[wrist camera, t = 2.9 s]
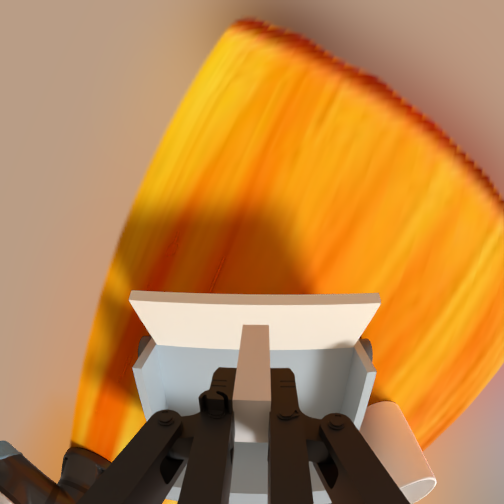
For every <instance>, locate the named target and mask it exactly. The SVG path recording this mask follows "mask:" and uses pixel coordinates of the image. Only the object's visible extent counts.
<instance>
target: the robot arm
mask: <svg viewBox="0 0 504 504" xmlns="http://www.w3.org/2000/svg"><path fill="white" fill-rule="evenodd" d="M198 399H199V406H200V412H199V413H197V414H194V415H190V416H181V415H180V414H179V413H178V412H176V411H174V410H168V409H166V410H160V411H157V412H155V413H154V414H153V415H152V416H151V417H150V418H149V420H148V421H147V422H146V423H145V424H144V426H143V427H142V428H141V429H140V430H139V431H138V433H137V434H136V435H135V436H134V437H133V439H132V440H131V441H130V442H129V443H128V444H127V446H126V447H125V448H124V449H123V450H122V451H121V453H120V454H119V455H118V456H117V457H116V458H115V460H114V461H113V462H112V463H110V462H109V461H107V460H106V459H104V458H102V457H101V456H99V455H97V454H95V453H93V452H90V451H88V450H85V449H81V448H69V449H68V450H67V452H66V454H65V455H64V458H63V464H62V472H61V478H60V480H59V482H58V484H56V483H55V482H54V481H52V480H51V479H50V478H49V477H47V476H46V475H45V474H43V473H42V472H41V471H40V470H39V469H38V468H36V467H35V466H34V465H33V464H32V463H31V462H30V461H28V460H27V459H26V458H25V457H24V456H23V454H22V453H21V452H18V451H17V450H16V449H15V448H14V447H13V446H12V445H11V444H10V443H8V442H6V441H0V504H162V503H163V501H164V500H165V498H166V496H167V495H168V493H169V492H170V490H171V489H172V487H173V485H174V484H175V482H176V481H177V479H178V477H179V476H180V474H181V473H182V471H183V469H184V468H185V466H186V464H187V467H186V471H185V475H184V479H183V483H182V487H181V491H180V495H179V499H178V503H177V504H229V497H230V487H231V478H232V468H233V459H234V439H235V442H259V443H268V456H267V461H268V504H314V502H313V493H312V484H311V476H310V468H309V461H311V462H312V463H313V466H314V468H315V470H316V472H317V474H318V476H319V478H320V480H321V482H322V484H323V486H324V488H325V490H326V492H327V494H328V496H329V498H330V500H331V502H332V504H410V502H409V501H408V500H407V498H406V497H405V496H404V494H403V493H402V491H401V490H400V489H399V487H398V486H397V484H396V483H395V482H394V480H393V479H392V477H391V476H390V474H389V473H388V472H387V470H386V469H385V467H384V466H383V465H382V463H381V462H380V460H379V459H378V457H377V456H376V455H375V453H374V452H373V450H372V449H371V448H370V446H369V445H368V443H367V442H366V440H365V439H364V438H363V436H362V435H361V433H360V432H359V430H358V429H357V428H356V426H355V425H354V423H353V422H352V420H351V419H350V418H349V417H348V416H346V415H344V414H340V413H330V414H328V415H325V416H324V417H323V418H322V419H317V418H312V417H309V416H307V415H305V414H304V413H302V411H301V410H300V408H299V403H298V396H297V389H296V382H295V375H294V373H293V372H292V370H291V369H290V368H270V343H269V325H243V327H242V334H241V341H240V349H239V356H238V363H237V368H226V367H219V368H218V369H217V370H216V371H215V372H214V373H213V376H212V381H211V385H210V389H209V390H207V391H204V392H203V393H201V394H200V396H199V397H198Z"/></svg>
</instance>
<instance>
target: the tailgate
mask: <svg viewBox="0 0 504 504" xmlns="http://www.w3.org/2000/svg"><path fill="white" fill-rule="evenodd" d="M129 301H130V303H131V305H132V306H133V308H134V310H135V311H136V313H137V314H138V316H139V318H140V319H141V321H142V322H143V324H144V326H145V327H146V329H147V330H148V332H149V333H150V335H151V336H152V338H153V339H154V341H155V342H156V344H157V345H165V346H177V347H191V348H209V349H233V350H239V349H240V341H241V334H242V327H243V325H269V343H270V350H311V349H336V348H353V347H354V345H355V344H356V342H357V341H358V339H359V338H360V336H361V335H362V333H363V331H364V330H365V328H366V327H367V325H368V324H369V322H370V320H371V319H372V317H373V316H374V314H375V312H376V311H377V309H378V307H379V306H380V304H381V300H380V296H379V293H365V294H306V295H270V294H210V293H179V292H155V291H135V290H131V294H130V297H129Z"/></svg>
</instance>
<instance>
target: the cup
mask: <svg viewBox="0 0 504 504" xmlns="http://www.w3.org/2000/svg"><path fill="white" fill-rule="evenodd" d="M359 432H360V433H361V435H362V436H363V438H364V439H365V440H366V442H367V443H368V445H369V446H370V448H371V449H372V450H373V452H374V453H375V455H376V456H377V457H378V459H379V460H380V462H381V463H382V465H383V466H384V467H385V469H386V470H387V472H388V473H389V474H390V476H391V477H392V479H393V480H394V482H395V483H396V484H397V486H398V487H399V489H400V490H401V491H402V493H403V494H404V496H405V497H406V498H407V500H408V501H409V502H410V504H413V503H415V502H417V501H418V500H420V499H422V498H423V497H425V496H426V495H427V494H428V493H429V492H431V490H432V489H433V488H434V487H435V485H436V478H435V476H434V474H433V472H432V470H431V468H430V466H429V464H428V462H427V460H426V458H425V456H424V454H423V452H422V450H421V448H420V446H419V444H418V442H417V440H416V438H415V436H414V434H413V432H412V430H411V429H410V427H409V425H408V423H407V421H406V419H405V417H404V415H403V413H402V412H401V410H400V408H399V406H398V405H397V404H396V403H394V402H391V401H382V402H378V403H375V404H372V405H370V406H368V407H367V408H366V411H365V415H364V418H363V421H362V424H361V427H360V430H359Z"/></svg>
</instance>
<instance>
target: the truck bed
mask: <svg viewBox="0 0 504 504" xmlns="http://www.w3.org/2000/svg"><path fill="white" fill-rule="evenodd" d="M238 356H239V350H233V349H209V348H191V347H177V346H165V345H157V344H156V342H155V341H154V339H153V338H152V336H143V337H142V338H141V340H140V343H139V348H138V360H137V361H136V363H135V364H134V366H133V367H132V368H133V373H134V377H135V381H136V385H137V389H138V393H139V396H140V400H141V404H142V407H143V411H144V414H145V418H146V421H148V420H149V418H150V417H151V416H152V415H153V414H154V413H155V412H157V411H160V410H166V409H168V410H174V411H176V412H178V413H179V414H180V415H181V416H190V415H194V414H197V413H199V412H200V406H199V399H198V397H199V396H200V394H201V393H203V392H204V391H207V390H209V389H210V385H211V381H212V376H213V373H214V372H215V371H216V370H217V369H218V368H219V367H226V368H237V363H238ZM270 368H290V369H291V370H292V372H293V373H294V375H295V382H296V389H297V396H298V403H299V408H300V410H301V411H302V413H304V414H305V415H307V416H309V417H312V418H317V419H322V418H323V417H324V416H325V415H328V414H330V413H340V414H344V415H346V416H348V417H349V418H350V419H351V420H352V422H353V423H354V425H355V426H356V428H357V429H358V430H360V427H361V424H362V421H363V418H364V415H365V411H366V408H367V405H368V401H369V398H370V394H371V391H372V387H373V384H374V380H375V376H376V372H377V371H376V369H375V367H374V366H373V364H372V346H371V343H370V341H369V340H368V339H358V341H357V342H356V344H355V345H354V347H353V348H336V349H311V350H270ZM267 456H268V443H259V442H235V439H234V459H233V468H232V478H231V487H230V497H229V504H268V461H267ZM186 467H187V464H186V466H185V468H184V469H183V471H182V473H181V474H180V476H179V477H178V479H177V481H176V482H175V484H174V485H173V487H172V489H171V490H170V492H169V493H168V495H167V496H166V498H165V499H170V500H175V501H178V499H179V495H180V491H181V487H182V483H183V479H184V475H185V471H186ZM309 468H310V476H311V484H312V493H313V502H314V504H330V503H332V502H331V500H330V498H329V496H328V494H327V492H326V490H325V488H324V486H323V484H322V482H321V480H320V478H319V476H318V474H317V472H316V470H315V468H314V466H313V463H312V462H311V461H309Z"/></svg>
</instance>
